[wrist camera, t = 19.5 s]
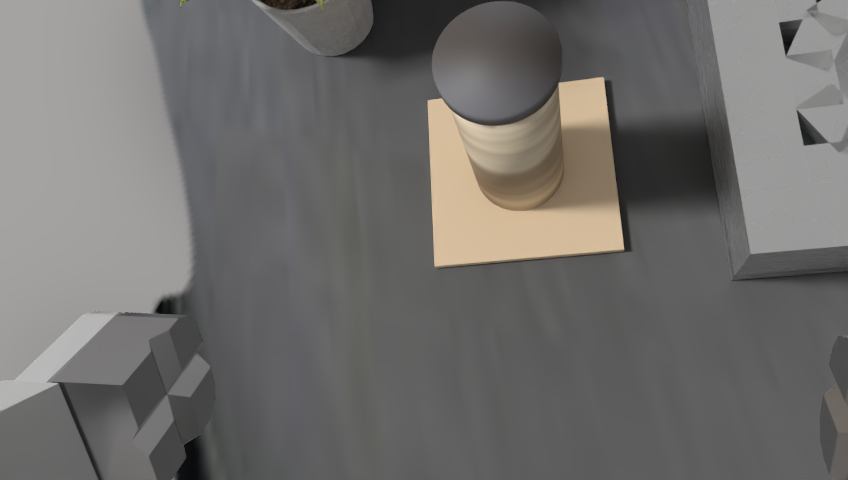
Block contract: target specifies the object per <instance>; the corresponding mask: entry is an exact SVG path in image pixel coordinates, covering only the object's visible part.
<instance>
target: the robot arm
mask: <svg viewBox="0 0 848 480" xmlns="http://www.w3.org/2000/svg"><path fill="white" fill-rule="evenodd" d="M202 343H203V339H202V336H201V333H200V330H199V327H198V324H197V321H195V320H193V319H192V318H190V317H189V316H186V315H167V314H148V313H128V312H125V313H121V312H100V311H97V312H96V311H94V312H90V313H86V314H83V315H82V316H81V317H80V318H79V319H78V320H77V321H76V322H75V323H74V324H72V326H70V327H69V329H67V330H66V331H65V332H64V333H63V334H62V335H61V336H60V337H59V338H58V339H57V340H56V341H55V342H54V343H53V344H52V345H51V346H50V347H48V348H47V349H46V350H45V351H44V352H43V353H42V354H41V355H40V356H39V357H38V358H37V359H36V360H35V361H34V362H33V363H32V364H31V365H30V366H29V367H28V368H27V369H26V370H25V371H24V372H23V373H21V374H20V375H19V376H18V377H17V378H16V379H15V380H14V381H7V380H4V381H1V382H0V480H172V478H173V477H174V475H175V474H176V472H177V471H178V469H179V468H180V466H181V464H182V463H183V461H184V460H185V458H186V454H185V450H184V444H185V443H187V442H188V441H190V440H192V439H193V438H195V437H196V436H198V435H200V434H201V433H202V431H203V430H204V428H205V426H206V425H207V423H208V421H209V420H210V418H211V414H212V410H213V406H214V402H215V381H214V377H213V374H212V370H211V367H210V366H209V365H208V364H207V363H206V362H205V361H204V360H203V359H202V358H201V357H200V356H199V355H198V354H197V352H198V350H199V348H200V346H201V344H202ZM829 365H830V368H831V370H832V373H833V375H834V377H835V380H836V382H837V384H836V385H835V386H834V387H833V388H831V389H830V390H829V391H828V392H827V393H825V394H824V395H823V401H822V407H821V414H820V441H821V446H822V451H823V456H824V460H825V463H826V466H827V469H828V472H829V475H830V476H831V477H832V478H834V479H835V480H848V336H838V338H837V340H836V342H835V344H834V346H833V349H832V354H831V359H830V363H829Z"/></svg>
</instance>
